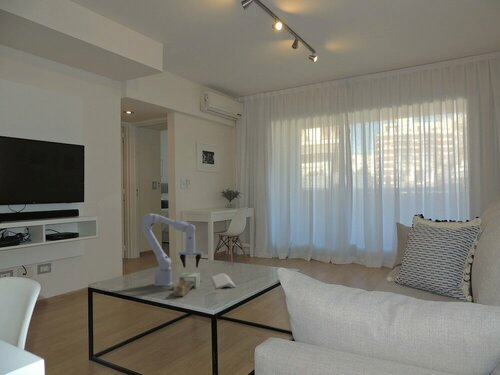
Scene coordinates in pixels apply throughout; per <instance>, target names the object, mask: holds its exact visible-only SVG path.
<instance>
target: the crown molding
mask: <svg viewBox="0 0 500 375" xmlns="http://www.w3.org/2000/svg"><path fill="white" fill-rule="evenodd" d="M210 280H211V281H212V285H213V286H214V289H215V290H221V289H222V288H225V287H229V288H232V289H237V288H238V287H237V286H236V285H235V283H234V282H233V281H232V278H230V276H229V275H227V274H225V273H224V272H222V273H219V274H216V275H213V276H211V277H210Z"/></svg>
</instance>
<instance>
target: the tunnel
mask: <svg viewBox="0 0 500 375" xmlns="http://www.w3.org/2000/svg"><path fill="white" fill-rule="evenodd" d="M187 278H189V279H191V278H193V281H194V285H193V287H194V289H198V287H199V286H200V285H201V282H200V281H201V272H183V273H182V274H180V275H179V276H178V283H179V282H180V281H187V280H186V279H187Z"/></svg>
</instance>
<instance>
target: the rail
mask: <svg viewBox="0 0 500 375" xmlns="http://www.w3.org/2000/svg"><path fill="white" fill-rule="evenodd" d="M193 287H194V283H190V289H191V288H193ZM182 297H183V296H175V298H182Z"/></svg>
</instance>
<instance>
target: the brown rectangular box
mask: <svg viewBox="0 0 500 375" xmlns="http://www.w3.org/2000/svg"><path fill="white" fill-rule="evenodd" d="M190 281H191V280H186V281H180V282H179V281H178V282H177V283H176V284H175V285H173V287H174V288H173V290H174V291H173V295H174V297H176V296H182V297H184V296H185V295H187V293H188V292H189V291H190V290H191V288H190Z"/></svg>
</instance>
